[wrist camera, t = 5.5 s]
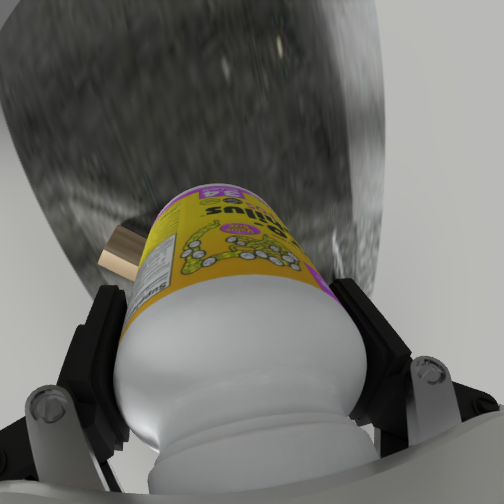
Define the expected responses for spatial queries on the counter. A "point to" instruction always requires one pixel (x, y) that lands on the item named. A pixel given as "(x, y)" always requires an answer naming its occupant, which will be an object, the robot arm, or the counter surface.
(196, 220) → the supplement bottle
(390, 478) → the robot arm
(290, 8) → the counter surface
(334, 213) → the counter surface
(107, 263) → the wooden plank
